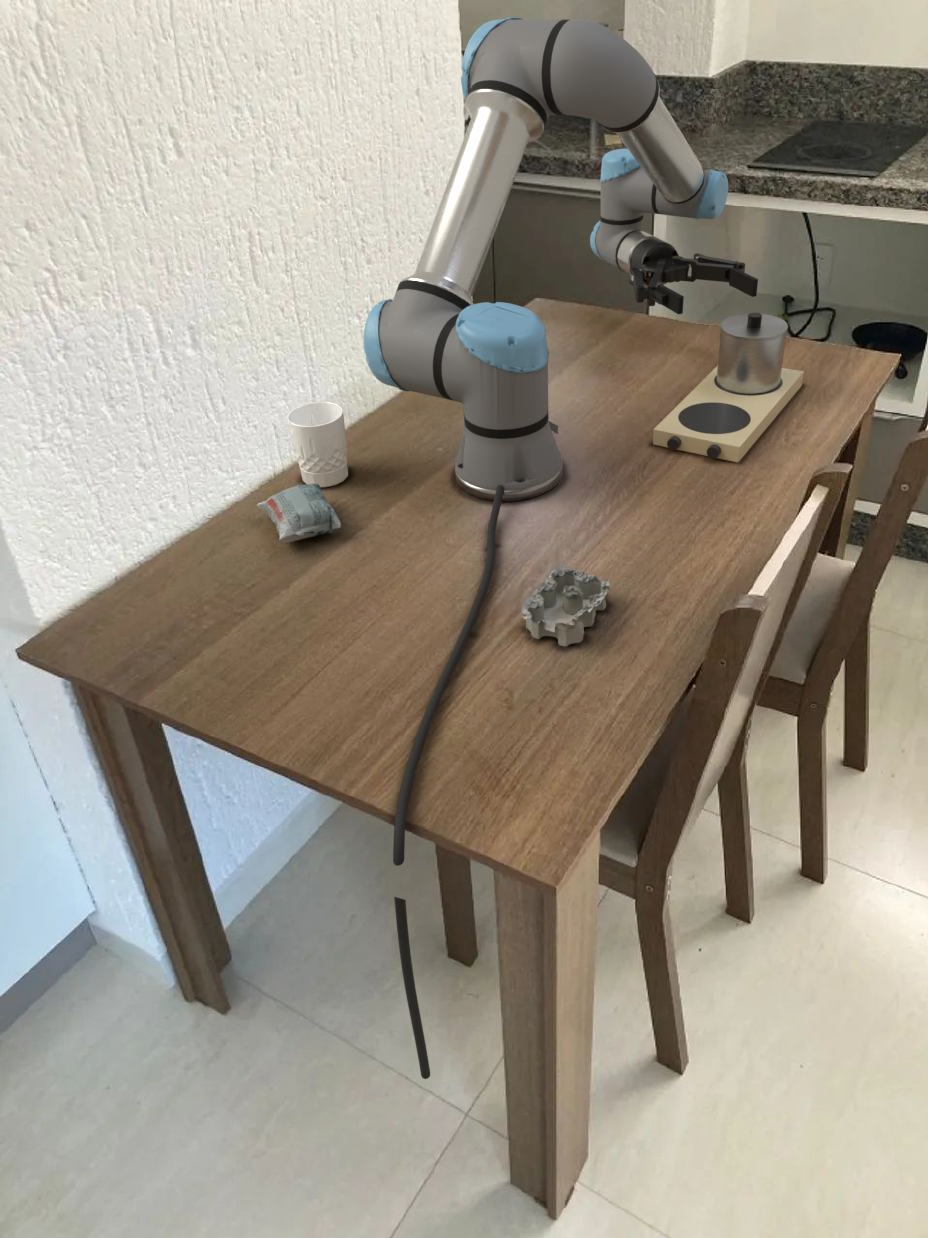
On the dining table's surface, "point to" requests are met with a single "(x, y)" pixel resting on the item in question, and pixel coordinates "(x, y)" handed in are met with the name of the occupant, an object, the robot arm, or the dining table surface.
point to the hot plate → (724, 418)
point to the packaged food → (300, 513)
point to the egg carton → (564, 605)
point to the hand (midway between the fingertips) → (718, 296)
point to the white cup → (319, 442)
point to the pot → (751, 353)
